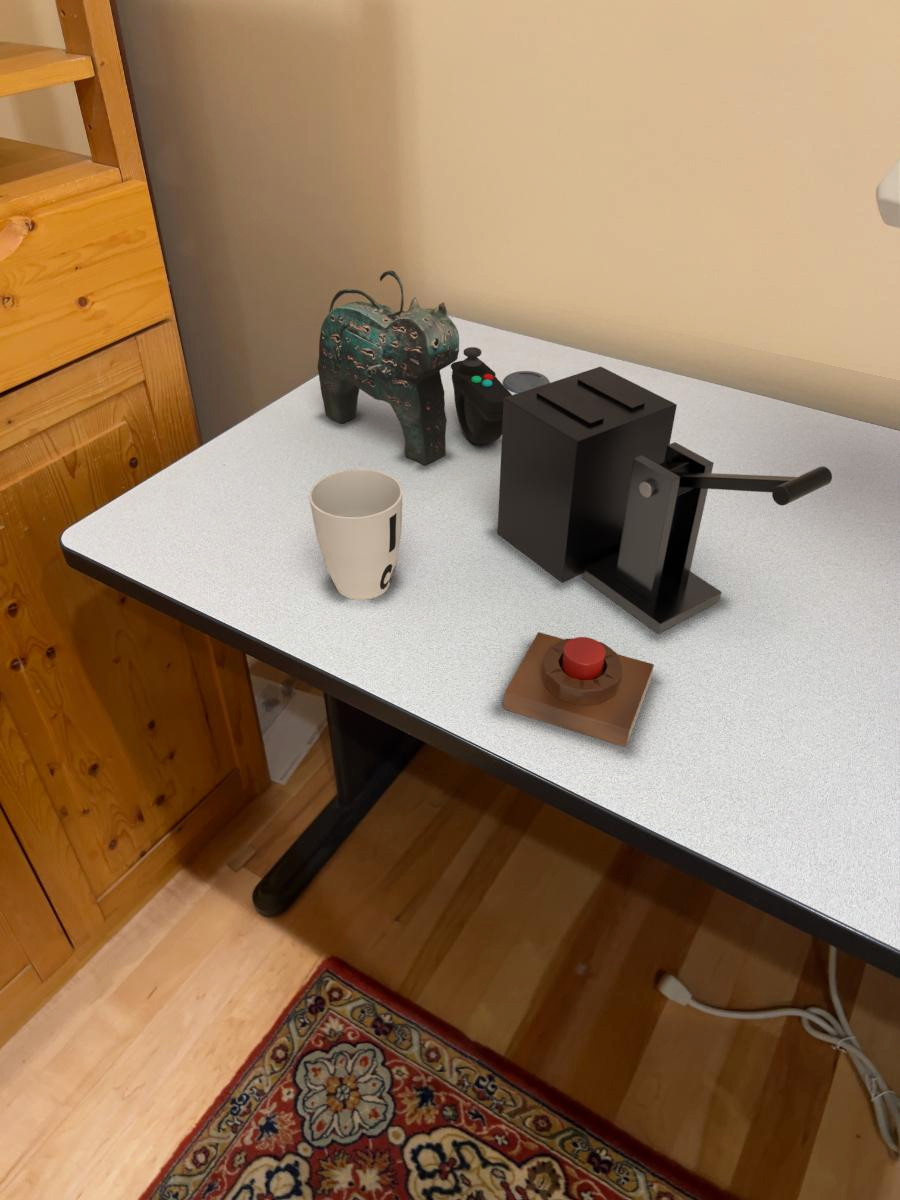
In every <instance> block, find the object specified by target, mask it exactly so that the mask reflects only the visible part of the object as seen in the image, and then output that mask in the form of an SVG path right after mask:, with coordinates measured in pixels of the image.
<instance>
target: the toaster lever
mask: <svg viewBox="0 0 900 1200" xmlns="http://www.w3.org/2000/svg"><path fill="white" fill-rule="evenodd" d="M658 465H660V466H662V467H664V468H665V469H667V470H669V471H671V472H673V473H674V474H676V475H678V476H680V483H679V488H678V493H677V496H679V495H681V494H684V493H686V492H688V491H690V490H693V488H704V489H708V490H721V491H722V490H723V491H738V492H739V491H740V492H756V493H771V494H772V500H773V501H774V502H775V504H777V505H778V506H782V507H783V506H787V505H788V504H791V503H792V502H794V501H797V500H798V499H800V498H803V497H805V496H807V495H809V494H811V493H813V492H816V491H817V490H819V489H821V488H824V487H826V486H827V485H830V484H831V482H832V481H833V473H832V471H831V470H830V469H829V468H828V467H827V466H822V465H821V466H817V467H816V468H814V469H812V470H809V471H807V472H805V473H802V474H801V475H799V476H787V475H786V476H785V475H759V474H740V473H739V474H737V473H735V474H734V473H714V472H712V473H691V471H690V464H689V462H663V463H661V464H658Z"/></svg>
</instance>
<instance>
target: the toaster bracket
mask: <svg viewBox="0 0 900 1200" xmlns="http://www.w3.org/2000/svg"><path fill="white" fill-rule="evenodd" d="M664 462H689V464H690V471H691V473H713V469H714V464H715V463H714V462H713V461H711V460H710V459H707V458H705V457H704V456H702V455H700V454H698V453H696V452H694V451H693V450H691V449H689V448H687V447H685V446H683V445H681V444H680V443H678V442H676V441H674V442H672V443H670V444H669V445H667V450H666V455H665V461H664ZM679 483H680V476H678V475H676V474H674V473H673V472H671V471H669V470H667V469H665V468H664V467H662V466H660V465H658V464H657V463H655V462H653V461H651V460H650V459H648V458H646V457H644V456H643V455H641V456H639V457H636V458H634V460H633V467H632V473H631V480H630V486H629V493H628V499H627V506H626V512H625V519H624V525H623V532H622V538H621V545H620V551H619V552H618V553H616V554H614V555H611V556H609V557H607V558H605V559H603V560H601V561H598V562H596V563H594V564H592V565H590V566H588V567H585V568H584V569H583V573H582V574H581V579H582V580H584V582H586V583H588V584H589V585H591V586H592V587H593V588H595V589H596V590H597V591H599V592H600V593H601V594H603V595H604V596H605V597H606V598H608V599H610V600H611V601H612V602H614V603H615V604H616V605H618V606H619V607H620V608H622V609H623V610H624V611H626V612H627V613H629V614H630V615H631V616H633V617H634V618H635V619H637V620H638V621H639V622H641V623H642V624H644V625H645V626H646V627H648V628H649V629H650V630H651V631H653V632H654V633H656V634H657V635H660V634H662V633H664V632H665V631H667V630H670V629H671V628H673V627H675V626H677V625H679V624H681V623H682V622H684V621H686V620H688V619H689V618H692V617H693V616H696V615H697V614H699V613H701V612H703V611H705V610H706V609H708V608H710V607H712V606H714V605H716V604H718V603H719V602H720V601H721V597H722V591H721V590H720V589H718V588H717V587H715V586H713V585H712V584H711V583H709V582H707V581H706V580H704V579H703V578H701V577H700V576H698V575H696V574H695V573H694V572H692V571H691V569H692V564H693V559H694V554H695V549H696V547H697V541H698V536H699V533H700V532H699V531H700V527H701V524H702V518H703V513H704V509H705V505H706V500H707V497H708V492H709V489H704V488H693V490H690V491H688V492H686V493H684V494H681V495H679V496H677V493H678V488H679Z"/></svg>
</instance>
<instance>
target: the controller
mask: <svg viewBox="0 0 900 1200" xmlns="http://www.w3.org/2000/svg"><path fill="white" fill-rule="evenodd" d="M463 355H464V356H465V357H466V358H465V359H463V360H458V361H454V362H453V363H451V364H450V368H451V370H452V372H451V381H452V387H453V397H454V405H455V411H456V415H457V418H458V420H457V421H458V423H459V426H460V428H461V431H462V433H463V435H464V436H465V438H466V439H467V440H468V441H470V442H471V443H473V444H476V445H484V444H488V443H493V442H496V441H498V440H499V439H500V438H502V426H503V405H504V398H505V397H508V396H511V395H513V394H512V393H511V392H510V390H509V389H507V387H506V386H504V384H503V383H502V382H501V380H499V379H498V378H497V376H496V374H497V373H496V372H495V371H494V370H493V369H491V367H490V366H489V365H488V364H486V363H485V362H484V361H482V360H481V359H480V358H478V357H480V356H482V349H480V348H479V347H475V346H470V347H466V348H464V349H463Z"/></svg>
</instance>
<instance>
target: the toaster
mask: <svg viewBox="0 0 900 1200" xmlns="http://www.w3.org/2000/svg"><path fill="white" fill-rule="evenodd" d="M677 407H678V405H677V403H675V402H673V401H671V400H669V399H667V398H665V397H663V396H661V395H659V394H657V393H655V392H653V391H650V390H649V389H647V388H645V387H643V386H641V385H639V384H637V383H635V382H633V381H631V380H629V379H627V378H625V377H624V376H621V375H619V374H617V373H615V372H613V371H611V370H608V369H607V368H605V367H603V366H598V367H594V368H592V369H588V370H585V371H582V372H579V373H576V374H573V375H570V376H566V377H564V378H560V379H557V380H555V381H551V382H548V383H545V384H542V385H539V386H536V387H533V388H530V389H526V390H523V391H521V392H518V393H515V394H512V395H511V396H508V397H505V398H504V405H503V426H502V436H501V447H500V449H501V451H500V452H501V453H500V468H499V469H500V470H499V471H500V473H499V489H498V490H499V491H498V492H499V493H498V494H499V495H498V513H497V514H498V515H497V532H496V533H497V535H498V536H500V537H501V538H503V539H504V540H505V541H506V542H508V543H509V544H510V545H512V546H513V547H514V548H516V549H517V550H518V551H519V552H521V553H522V554H523V555H525V556H526V557H528V559H530V560H531V561H533V562H534V563H535V564H536V565H538V566H539V567H541V568H542V569H543V570H545V571H546V572H547V573H548V574H550V575H551V576H552V577H553V578H555V579H556V580H557V581H558V582H560V583H561V584H562V583H566V582H568V581H570V580H572V579H573V578H576V577H578V576H580V575H582V574H583V569H584V568H585V567H588V566H590V565H592V564H594V563H596V562H598V561H601V560H603V559H605V558H607V557H609V556H611V555H614V554H616V553H618V552H619V551H620V545H621V538H622V532H623V525H624V519H625V512H626V506H627V499H628V493H629V486H630V480H631V473H632V467H633V460H634V458H636V457H639V456H641V455H643V456H644V457H646V458H648V459H650V460H651V461H653V462H655V463H657V464H661V463H663V462H664V461H665V455H666V450H667V445H669V444H671V441H672V440H671V439H672V434H673V428H674V422H675V417H676V411H677Z"/></svg>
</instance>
